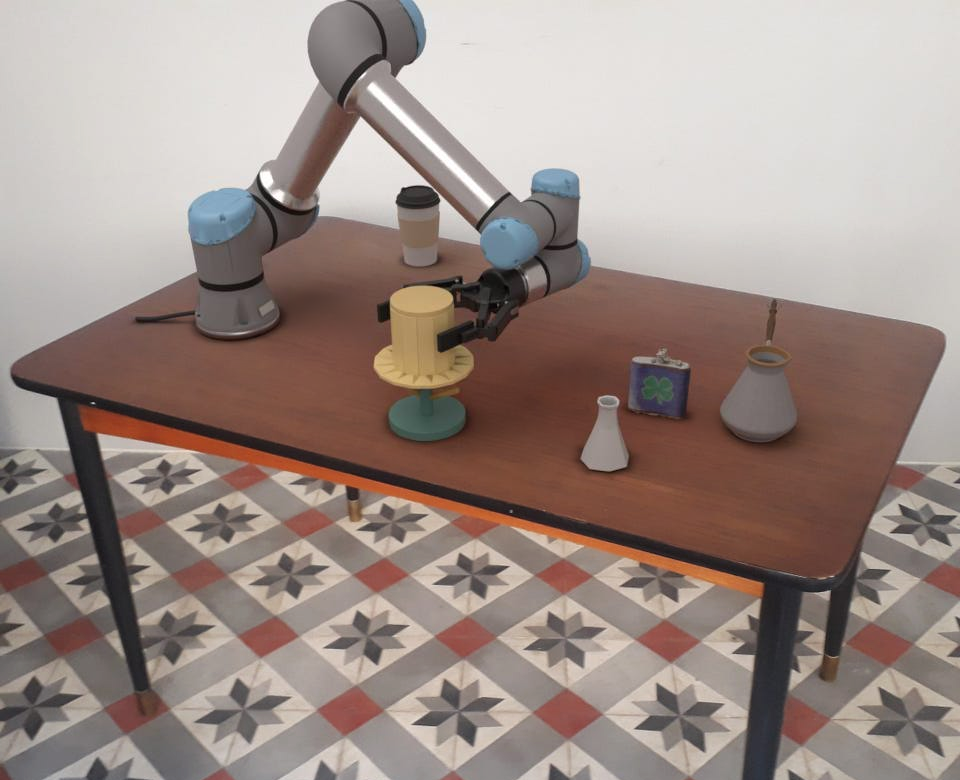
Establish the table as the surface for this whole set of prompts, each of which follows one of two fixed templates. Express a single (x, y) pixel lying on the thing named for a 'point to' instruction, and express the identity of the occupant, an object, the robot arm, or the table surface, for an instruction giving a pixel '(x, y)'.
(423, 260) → the coffee cup
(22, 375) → the table surface
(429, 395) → the hat stand
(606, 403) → the flask
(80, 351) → the table surface
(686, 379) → the flask
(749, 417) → the coffee pot
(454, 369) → the hat
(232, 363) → the table surface
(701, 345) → the table surface
